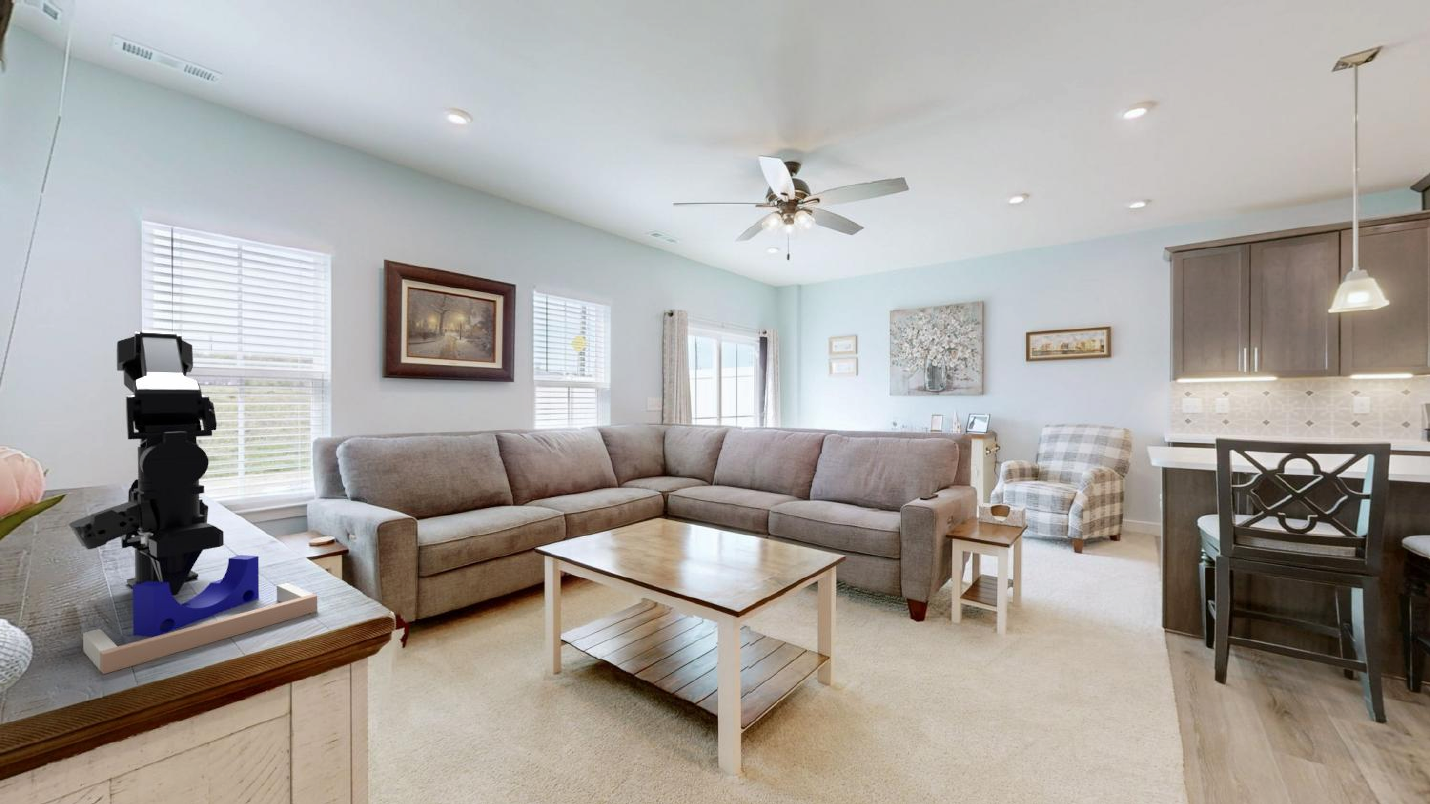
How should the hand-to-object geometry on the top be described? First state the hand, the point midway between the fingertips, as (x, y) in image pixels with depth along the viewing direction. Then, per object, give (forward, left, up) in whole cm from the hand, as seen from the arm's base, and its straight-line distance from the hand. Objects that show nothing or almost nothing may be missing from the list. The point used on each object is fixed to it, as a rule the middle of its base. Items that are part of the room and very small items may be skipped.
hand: (171, 595), depth 72 cm
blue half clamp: (+8, +1, -1) cm, 8 cm away
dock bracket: (+15, 0, -1) cm, 15 cm away
